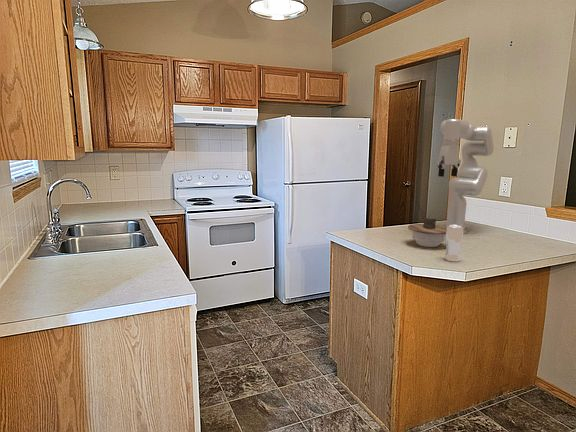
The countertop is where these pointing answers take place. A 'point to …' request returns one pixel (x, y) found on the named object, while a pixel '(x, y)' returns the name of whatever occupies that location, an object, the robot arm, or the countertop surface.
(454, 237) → the beer glass
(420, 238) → the paper bowls
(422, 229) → the walnut lid
